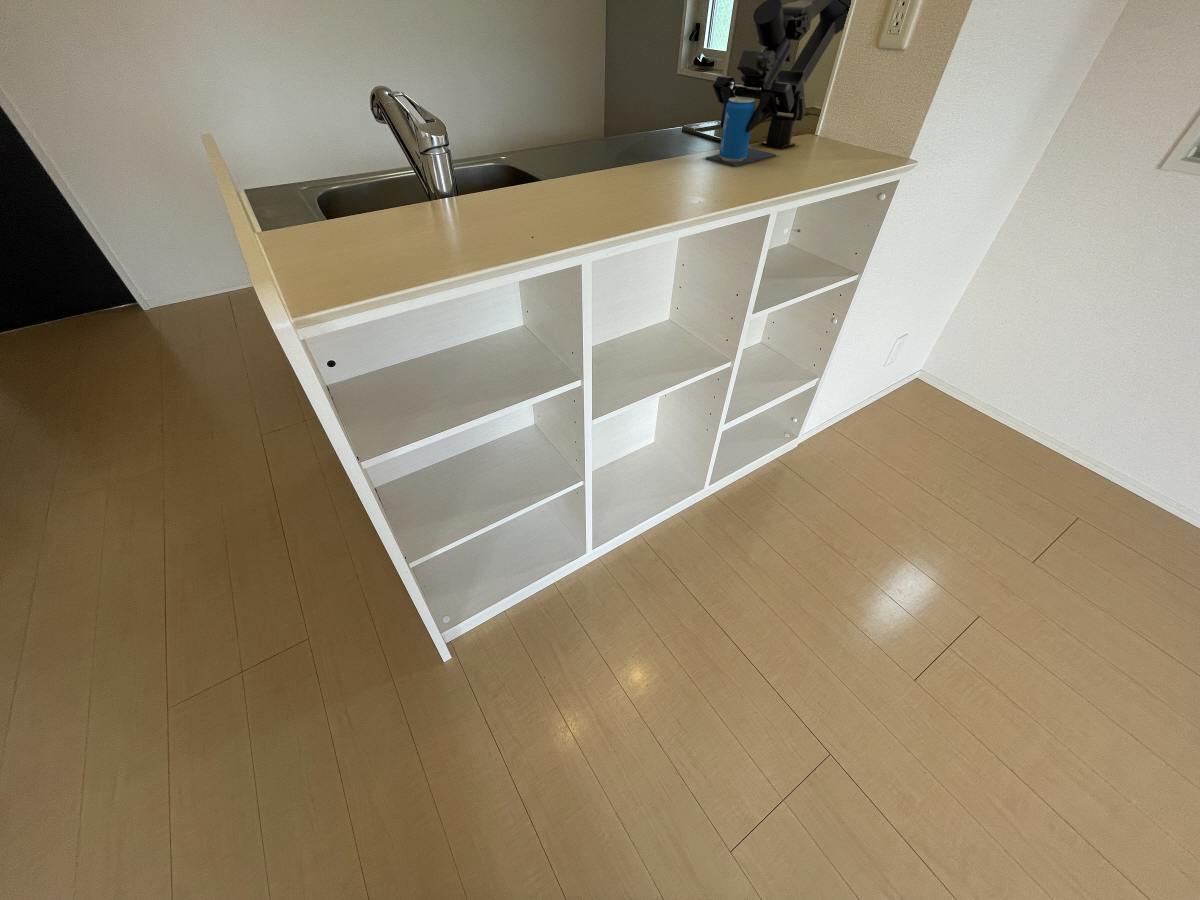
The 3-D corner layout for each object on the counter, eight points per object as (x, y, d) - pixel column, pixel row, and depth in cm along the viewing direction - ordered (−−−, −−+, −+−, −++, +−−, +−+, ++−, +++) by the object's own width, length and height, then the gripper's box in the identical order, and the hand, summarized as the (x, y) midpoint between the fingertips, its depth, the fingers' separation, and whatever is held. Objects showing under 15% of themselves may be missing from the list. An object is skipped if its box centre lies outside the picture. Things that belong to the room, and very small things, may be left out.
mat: (746, 149, 130) (747, 147, 130) (775, 156, 125) (776, 154, 125) (705, 159, 123) (705, 157, 123) (734, 166, 118) (735, 164, 118)
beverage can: (714, 157, 123) (722, 97, 114) (738, 155, 124) (747, 96, 116) (725, 164, 118) (735, 102, 110) (750, 161, 119) (761, 101, 111)
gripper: (724, 30, 112) (689, 96, 113) (802, 35, 103) (763, 107, 104) (736, 71, 121) (703, 131, 123) (809, 79, 112) (773, 144, 114)
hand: (733, 128), depth 116 cm, fingers closed on beverage can, 6 cm apart
